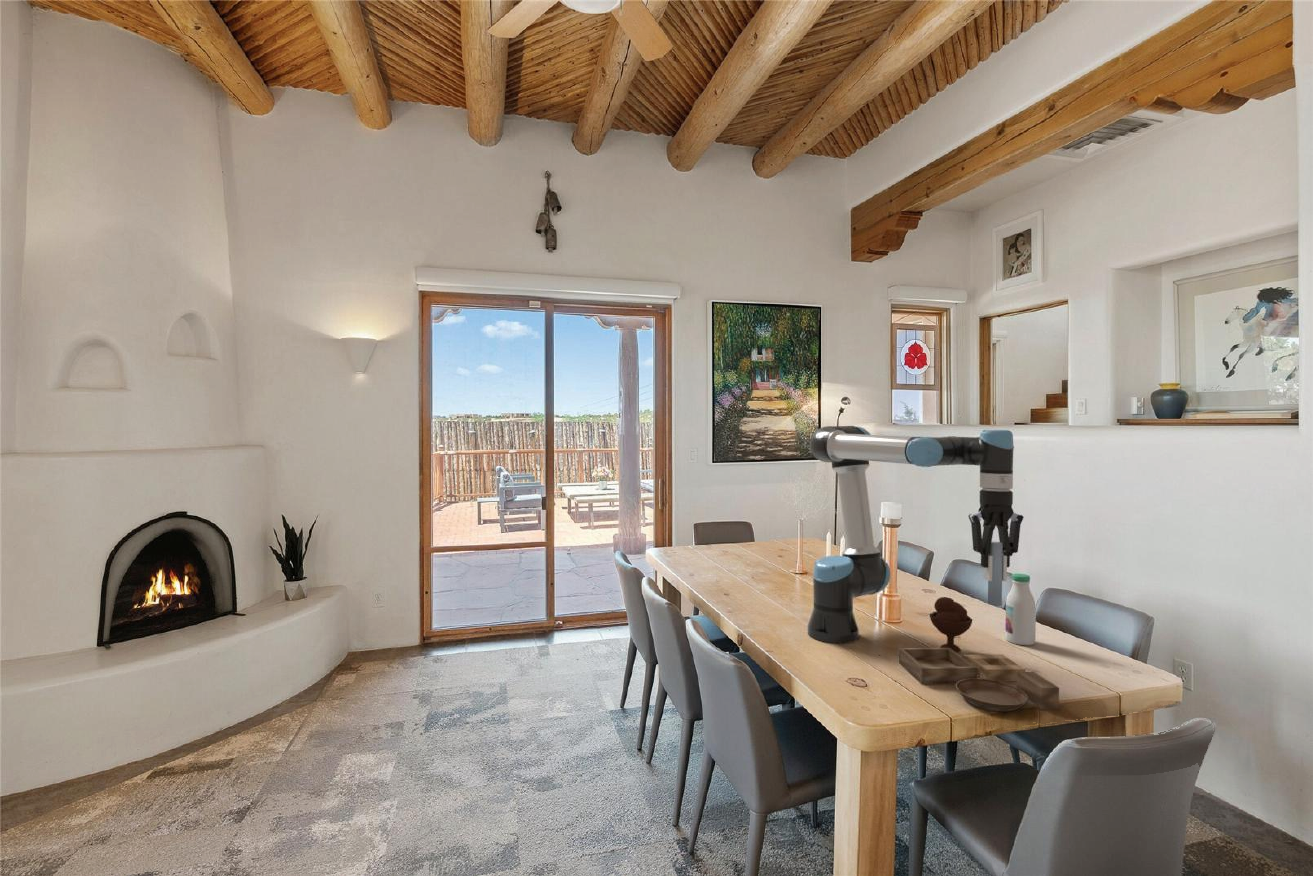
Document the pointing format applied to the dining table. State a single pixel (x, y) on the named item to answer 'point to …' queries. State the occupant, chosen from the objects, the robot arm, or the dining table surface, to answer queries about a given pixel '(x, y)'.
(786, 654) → the dining table surface
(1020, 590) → the milk bottle
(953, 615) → the ice cream bowl
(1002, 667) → the socket block
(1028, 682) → the block
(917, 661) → the tray
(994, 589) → the dowel
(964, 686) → the saucer
